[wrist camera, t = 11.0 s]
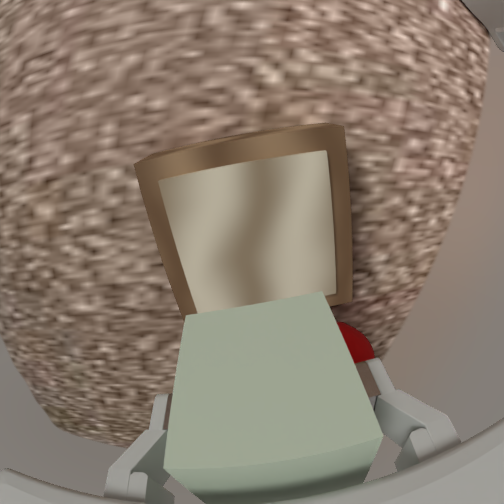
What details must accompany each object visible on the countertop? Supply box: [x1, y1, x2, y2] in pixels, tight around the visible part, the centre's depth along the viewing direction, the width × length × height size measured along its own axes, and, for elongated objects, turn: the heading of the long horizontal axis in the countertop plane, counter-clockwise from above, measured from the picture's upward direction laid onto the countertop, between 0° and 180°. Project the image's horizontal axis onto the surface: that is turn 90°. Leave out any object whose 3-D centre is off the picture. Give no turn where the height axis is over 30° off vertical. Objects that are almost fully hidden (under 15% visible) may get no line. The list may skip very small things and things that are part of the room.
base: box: [134, 123, 353, 322], centre depth 23 cm, size 14×14×5 cm
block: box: [163, 291, 383, 504], centre depth 9 cm, size 5×5×6 cm
